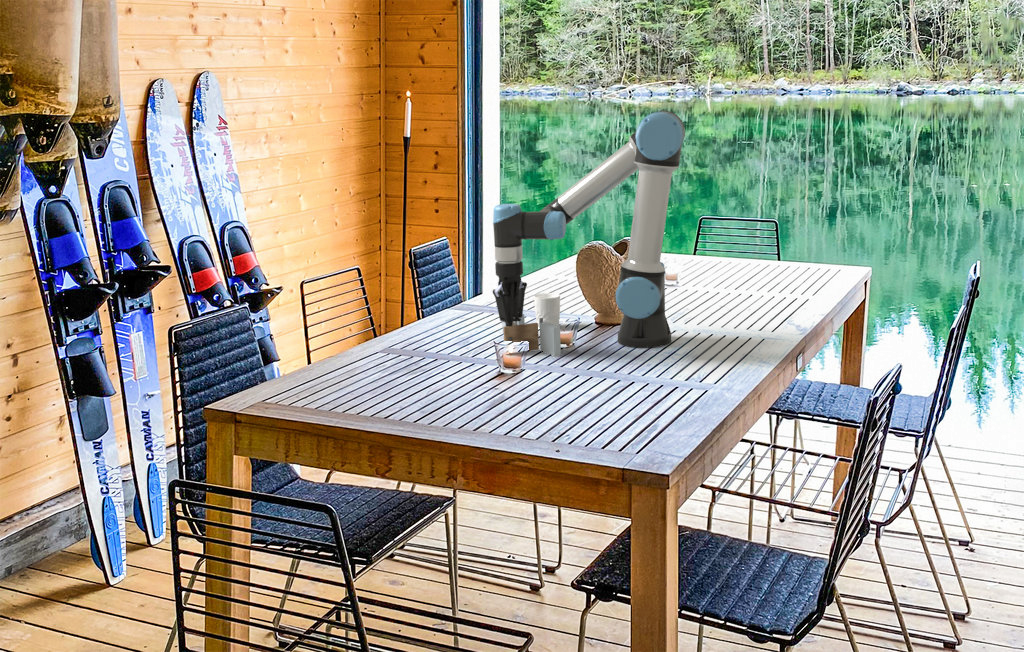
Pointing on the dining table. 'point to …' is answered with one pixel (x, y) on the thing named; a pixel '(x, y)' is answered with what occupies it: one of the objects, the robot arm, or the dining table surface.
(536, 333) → the door
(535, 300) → the white cup
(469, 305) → the dining table surface
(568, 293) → the dining table surface
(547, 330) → the wall frame
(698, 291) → the dining table surface
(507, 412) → the dining table surface
